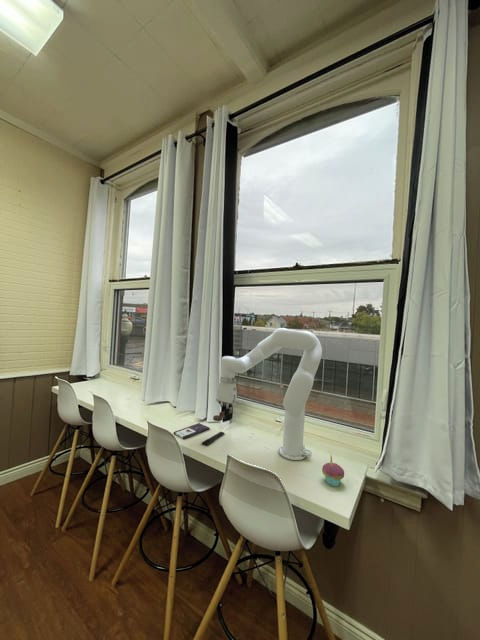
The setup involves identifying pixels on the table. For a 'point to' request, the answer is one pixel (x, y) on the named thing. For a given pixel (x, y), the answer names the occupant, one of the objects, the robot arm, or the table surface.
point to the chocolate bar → (191, 430)
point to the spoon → (221, 415)
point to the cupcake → (333, 473)
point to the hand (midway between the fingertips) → (225, 414)
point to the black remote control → (212, 438)
